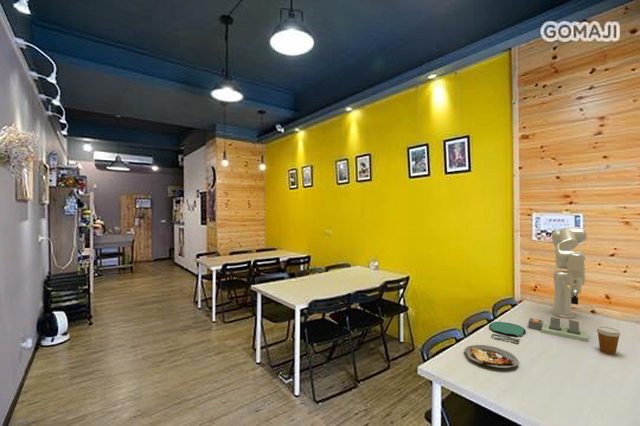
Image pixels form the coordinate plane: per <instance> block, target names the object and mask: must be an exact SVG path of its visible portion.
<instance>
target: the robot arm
mask: <svg viewBox="0 0 640 426" xmlns="http://www.w3.org/2000/svg"><path fill="white" fill-rule="evenodd" d="M587 237H588V234H587V231H586V230H585V228H581V227H562V228H561V229H560V230H554V231H552V233H551V242H552V243H553V246H554V254H555V265H556V267H557V268H558V269H561V270H556V271H554V272H553V282H554V305H553V307H552V309H554V310H552V311H551V314H552V315H553V316H556V317H558V318H564V319H572V318H574V317H575V315H574V314H573V313H572V305H579V295H581V294H582V286H584V285H585V283H586V272H585V269H586V268H585V266H586V265H585V259H586V256H585V254H584V253H583V252H582V251H580V250H578V251H577V250H574V249H576V248H577V247H578V244H582V243H584V242H585V241H586V240H587ZM562 269H563V270H562ZM564 269H565V270H564Z"/></svg>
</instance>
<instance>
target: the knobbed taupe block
mask: <svg viewBox="0 0 640 426" xmlns="http://www.w3.org/2000/svg"><path fill="white" fill-rule="evenodd" d="M568 327H569V333H574V334H579V329H580V322H579V321H577V320H571V319H569V320H568Z"/></svg>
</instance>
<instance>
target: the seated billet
mask: <svg viewBox="0 0 640 426" xmlns="http://www.w3.org/2000/svg"><path fill="white" fill-rule="evenodd" d="M549 324H550V329H553V330H558V331H560V326H561V317H553V316H550V322H549Z"/></svg>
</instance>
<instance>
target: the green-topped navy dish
mask: <svg viewBox="0 0 640 426" xmlns="http://www.w3.org/2000/svg"><path fill="white" fill-rule="evenodd" d="M489 329H490V330H491V331H493V332H496V333H500V334H496V333H492V334H491V338H494V337H495V338H494V339H493V340H495V341H499V340H502V342H505V341H506V343H509V342H511V343H510V344H515V345H519V344H520V341H521V339H520V338H521V337H522V336H523V335H525V334H526V332H527V330H526V329H525V327H523V326H521V325H519V324H516V323H515V324H514V323H510V322H505V321H492V322H491V323H489ZM502 334H503V335H502ZM507 335H508V336H507ZM497 336H498V337H497ZM511 336H517V337H518V338H515V337H511ZM500 337H501V338H500ZM506 337H507V338H506ZM502 338H503V339H502Z"/></svg>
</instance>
